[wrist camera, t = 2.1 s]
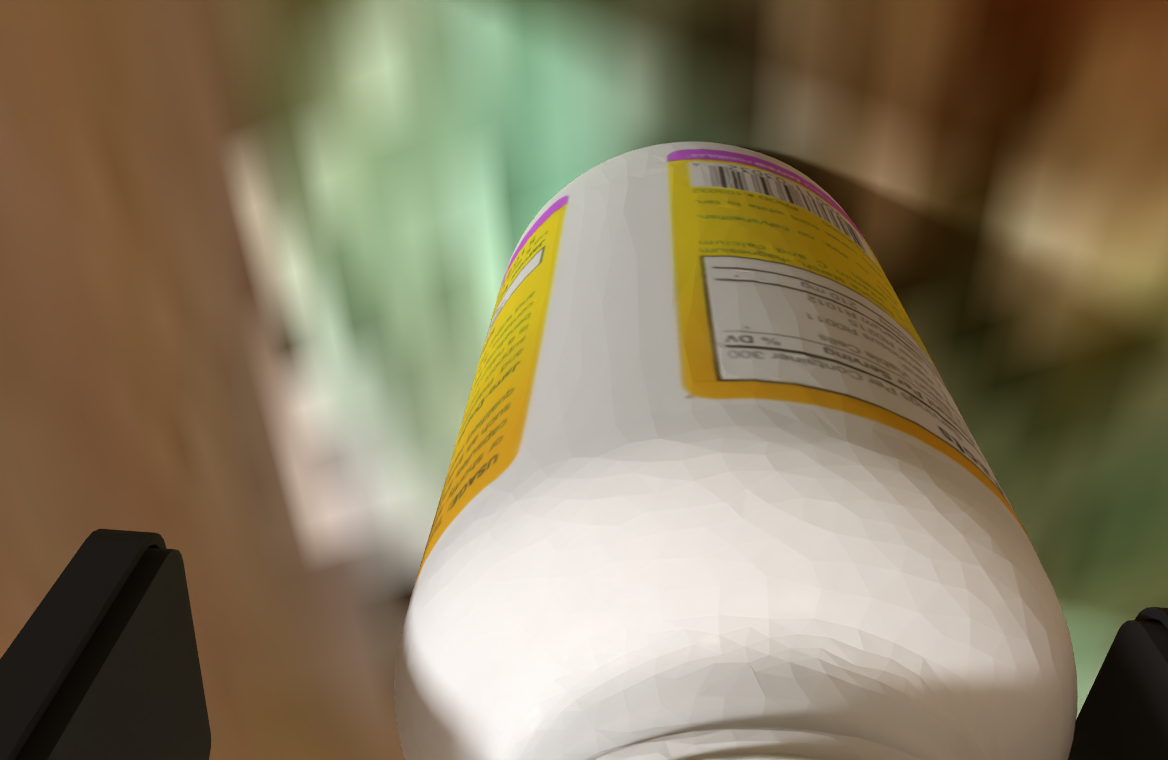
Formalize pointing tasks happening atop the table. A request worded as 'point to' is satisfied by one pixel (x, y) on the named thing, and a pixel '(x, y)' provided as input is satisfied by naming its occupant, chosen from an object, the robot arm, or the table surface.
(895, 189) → the table surface
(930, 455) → the supplement bottle
